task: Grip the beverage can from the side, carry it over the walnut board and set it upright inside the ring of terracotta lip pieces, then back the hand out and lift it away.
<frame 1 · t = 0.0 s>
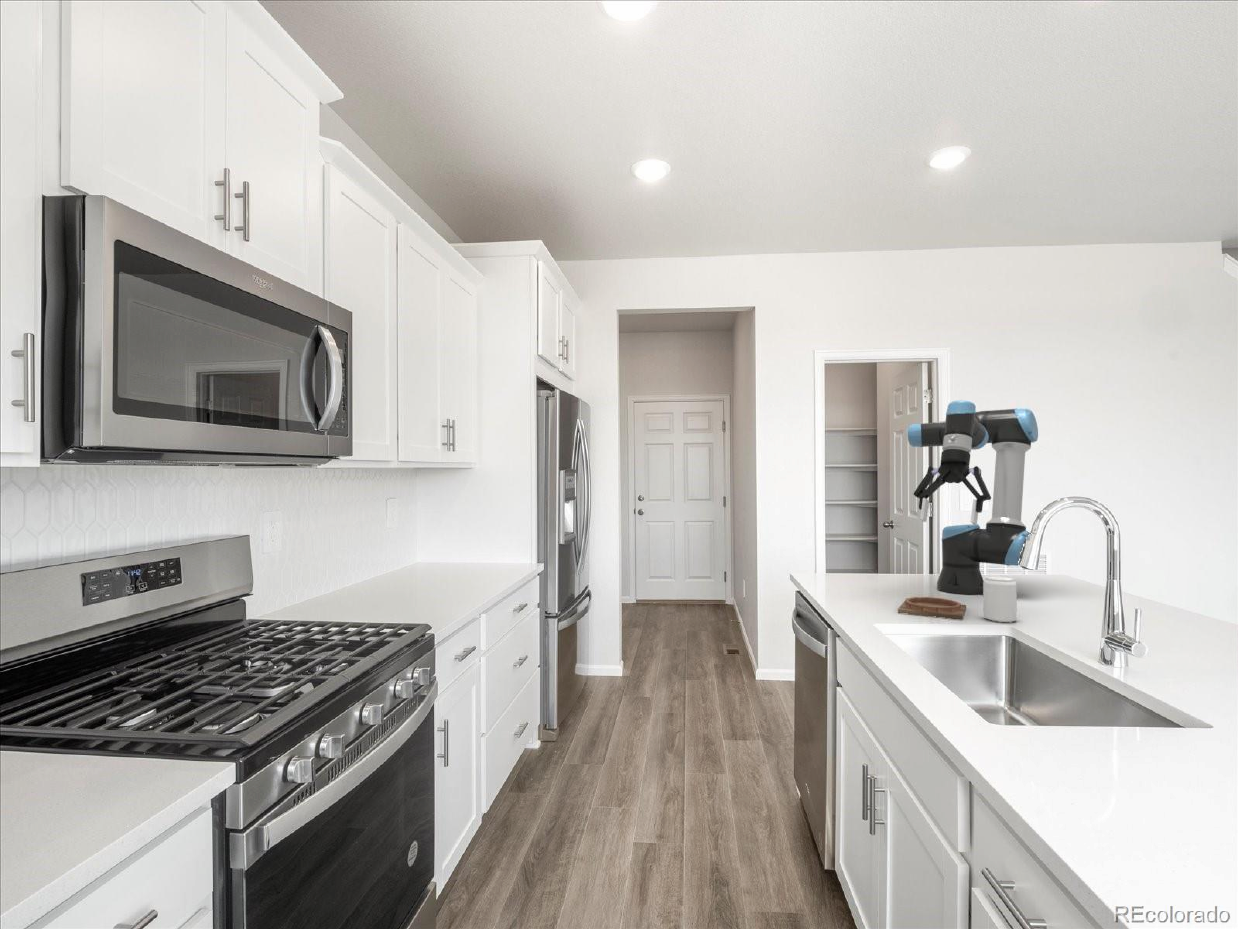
hand: (947, 522, 182), 28 cm above the table, tool tilted 20°, fingers open, 13 cm apart
coaster board: (932, 611, 194), on the table
beverage can: (999, 620, 182), on the table
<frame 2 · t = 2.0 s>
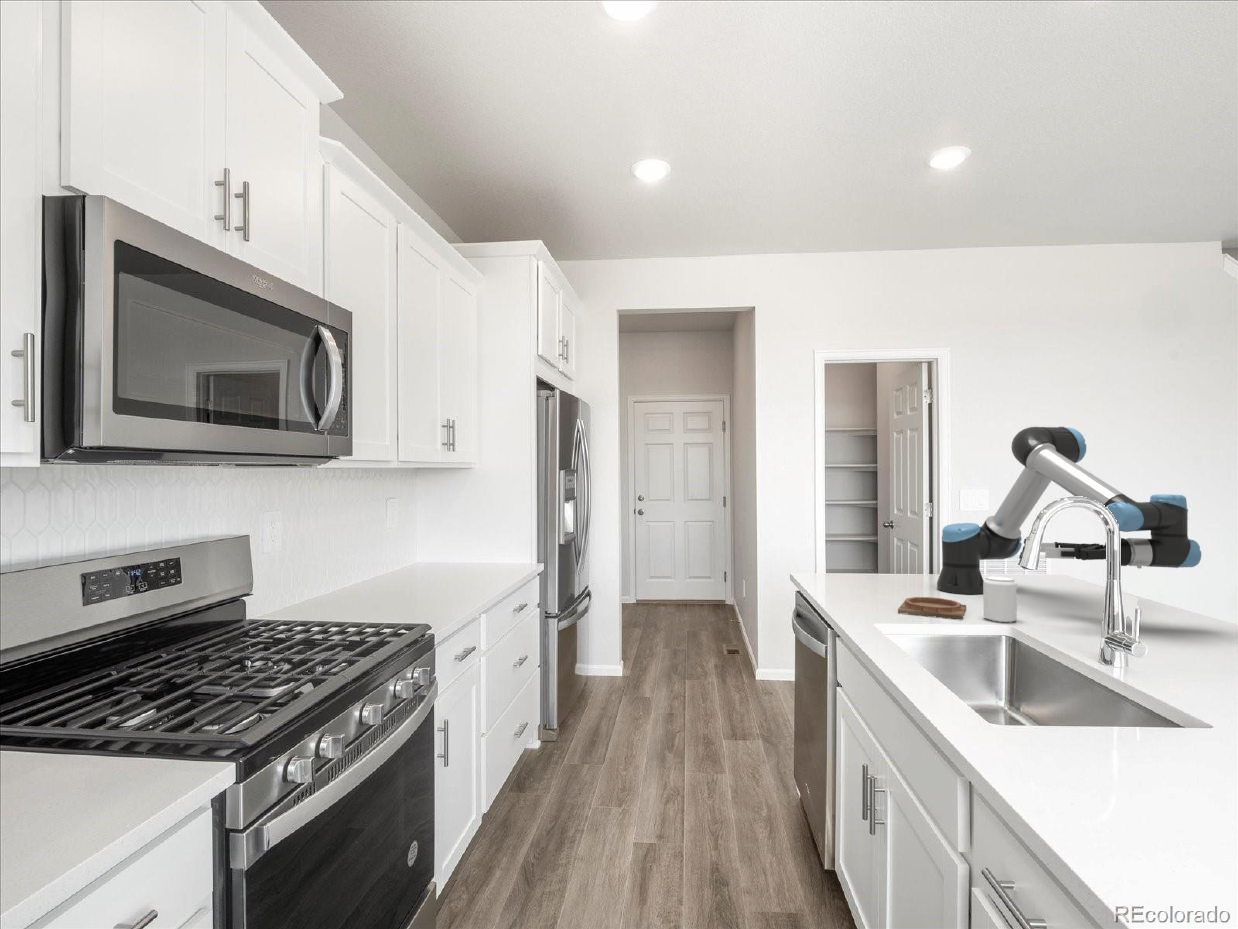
hand: (1036, 549, 179), 20 cm above the table, tool horizontal, fingers open, 13 cm apart
nothing on the table moved.
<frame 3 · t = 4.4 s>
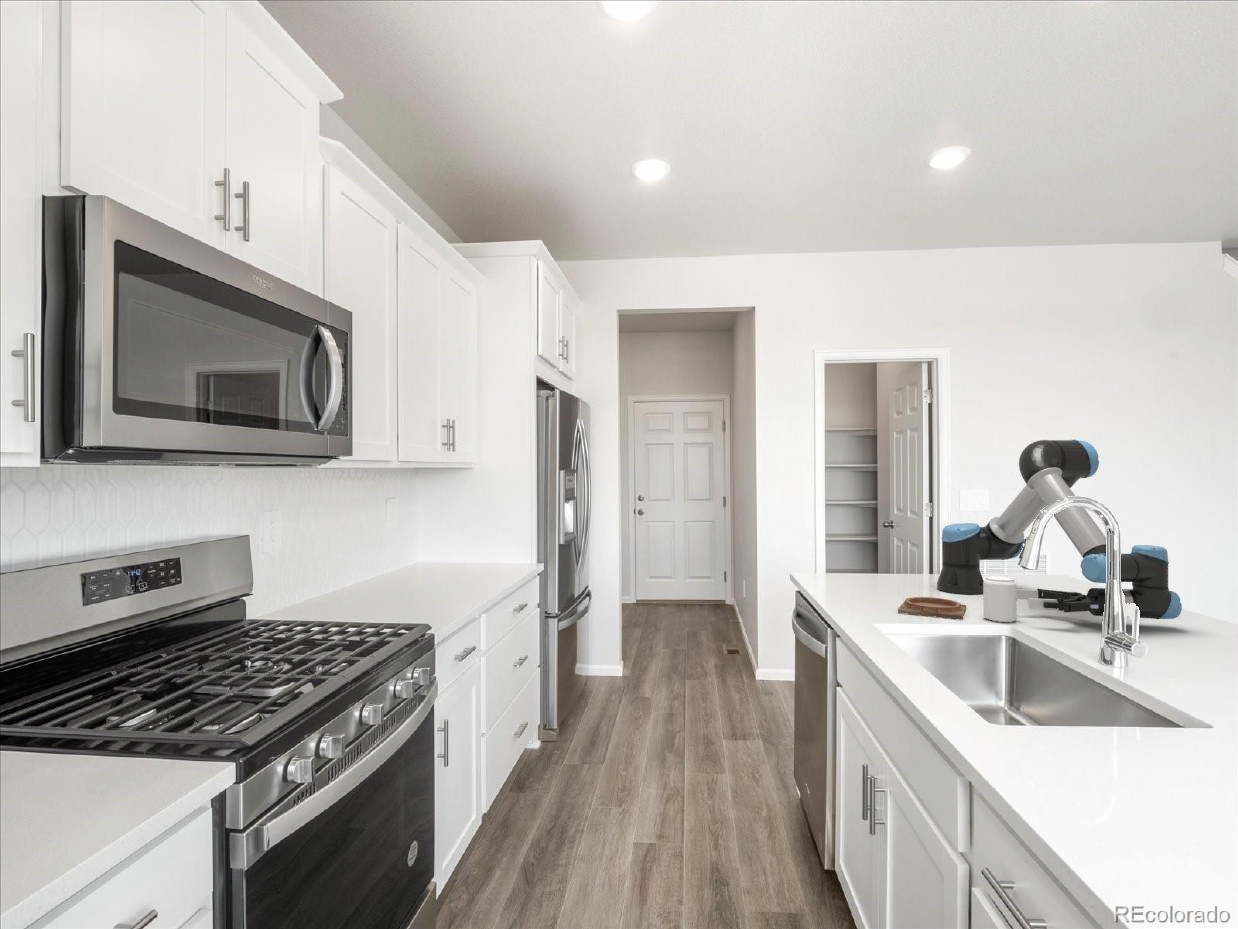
hand: (1020, 598, 180), 6 cm above the table, tool horizontal, fingers open, 13 cm apart
nothing on the table moved.
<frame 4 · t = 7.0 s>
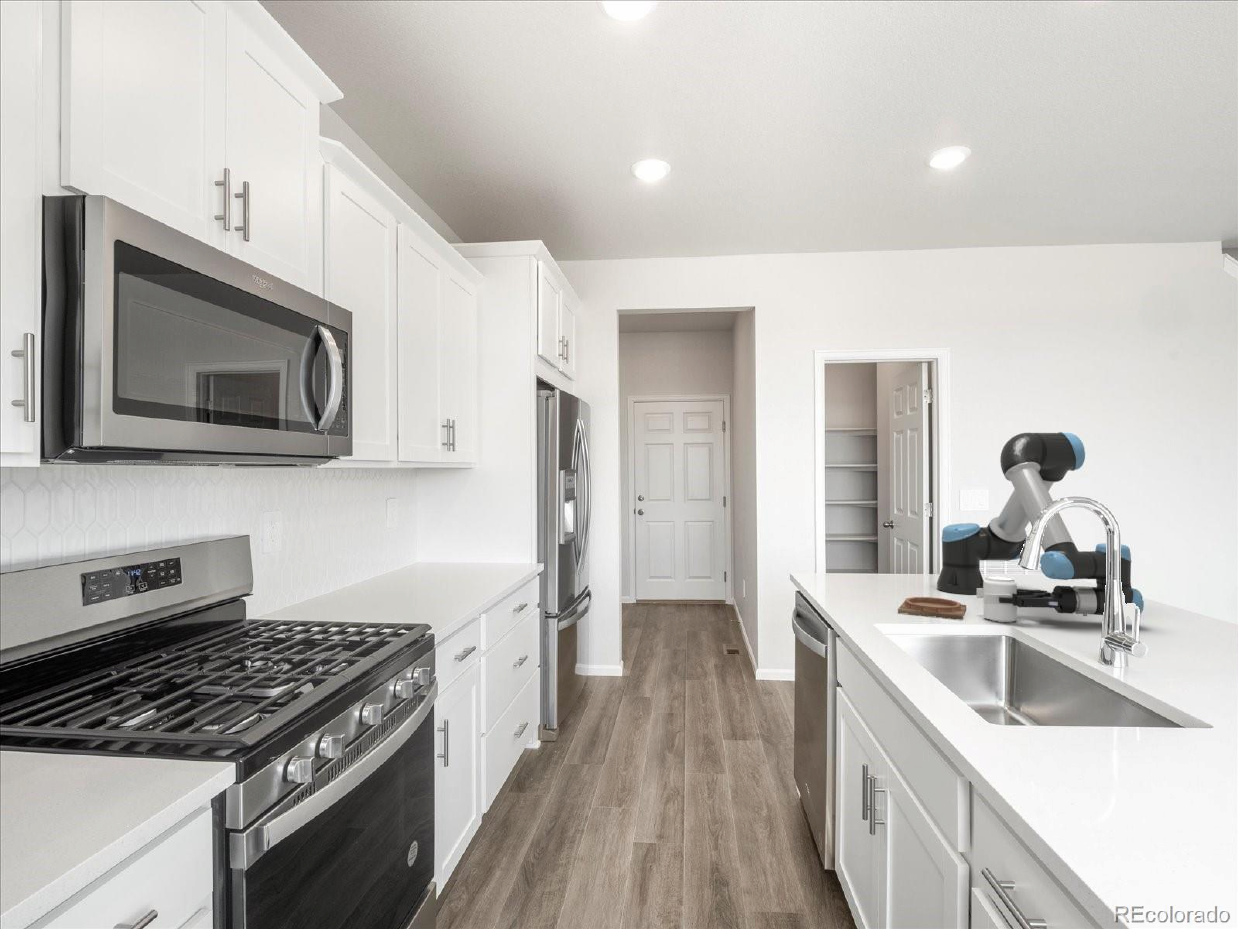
hand: (980, 595, 183), 7 cm above the table, tool horizontal, fingers closed on beverage can, 8 cm apart
beverage can: (1000, 620, 182), on the table, touching gripper
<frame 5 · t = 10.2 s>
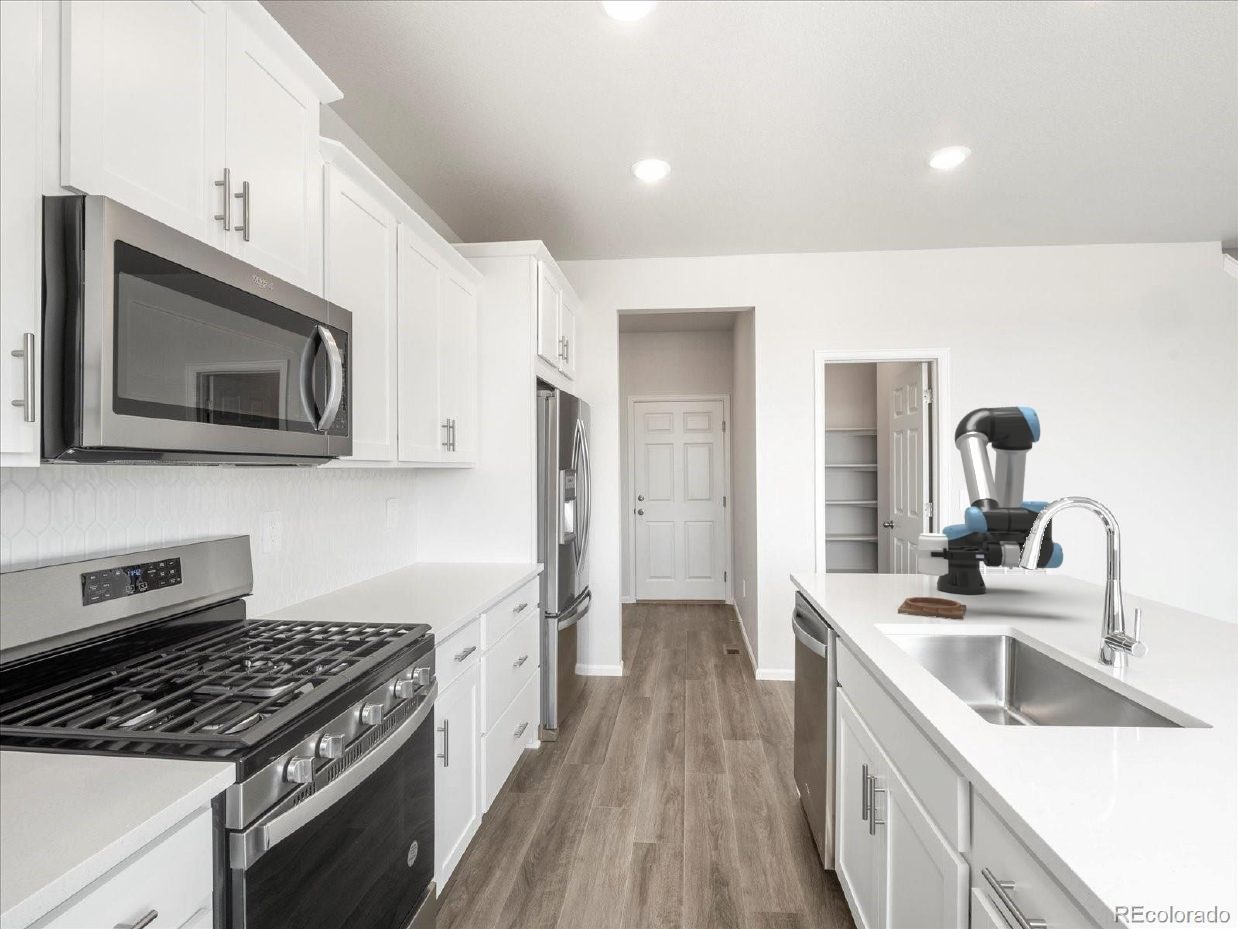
hand: (915, 551, 195), 18 cm above the table, tool horizontal, fingers closed on beverage can, 8 cm apart
beverage can: (933, 574, 193), point 11 cm above the table, touching gripper
when the fingers open (9 cm above the table, at t = 13.3 s): beverage can stays where it is, resting on coaster board.
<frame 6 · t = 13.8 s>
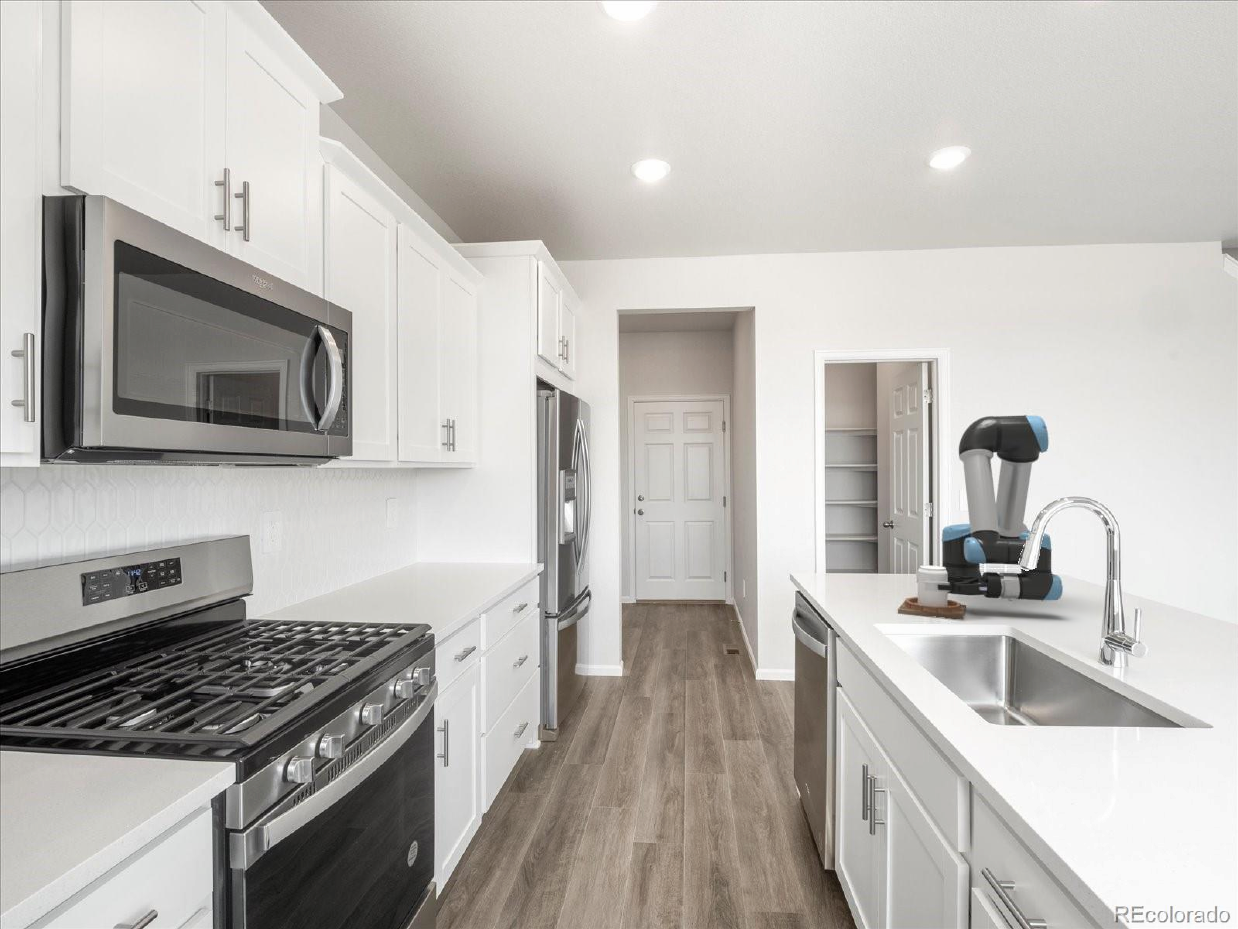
hand: (920, 582, 194), 9 cm above the table, tool horizontal, fingers open, 13 cm apart
beverage can: (932, 607, 194), point 1 cm above the table, touching coaster board
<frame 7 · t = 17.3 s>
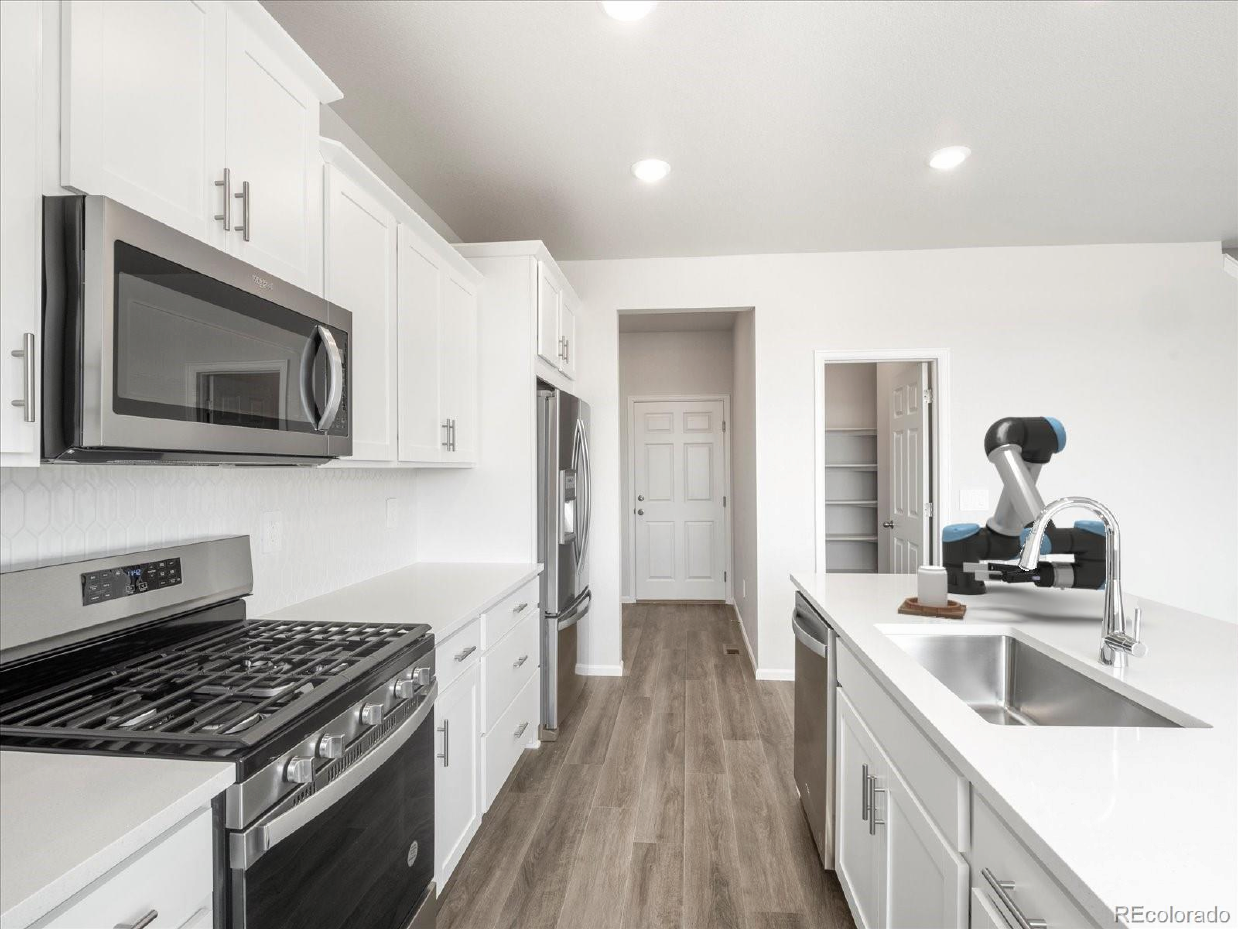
hand: (969, 571, 190), 13 cm above the table, tool horizontal, fingers open, 13 cm apart
nothing on the table moved.
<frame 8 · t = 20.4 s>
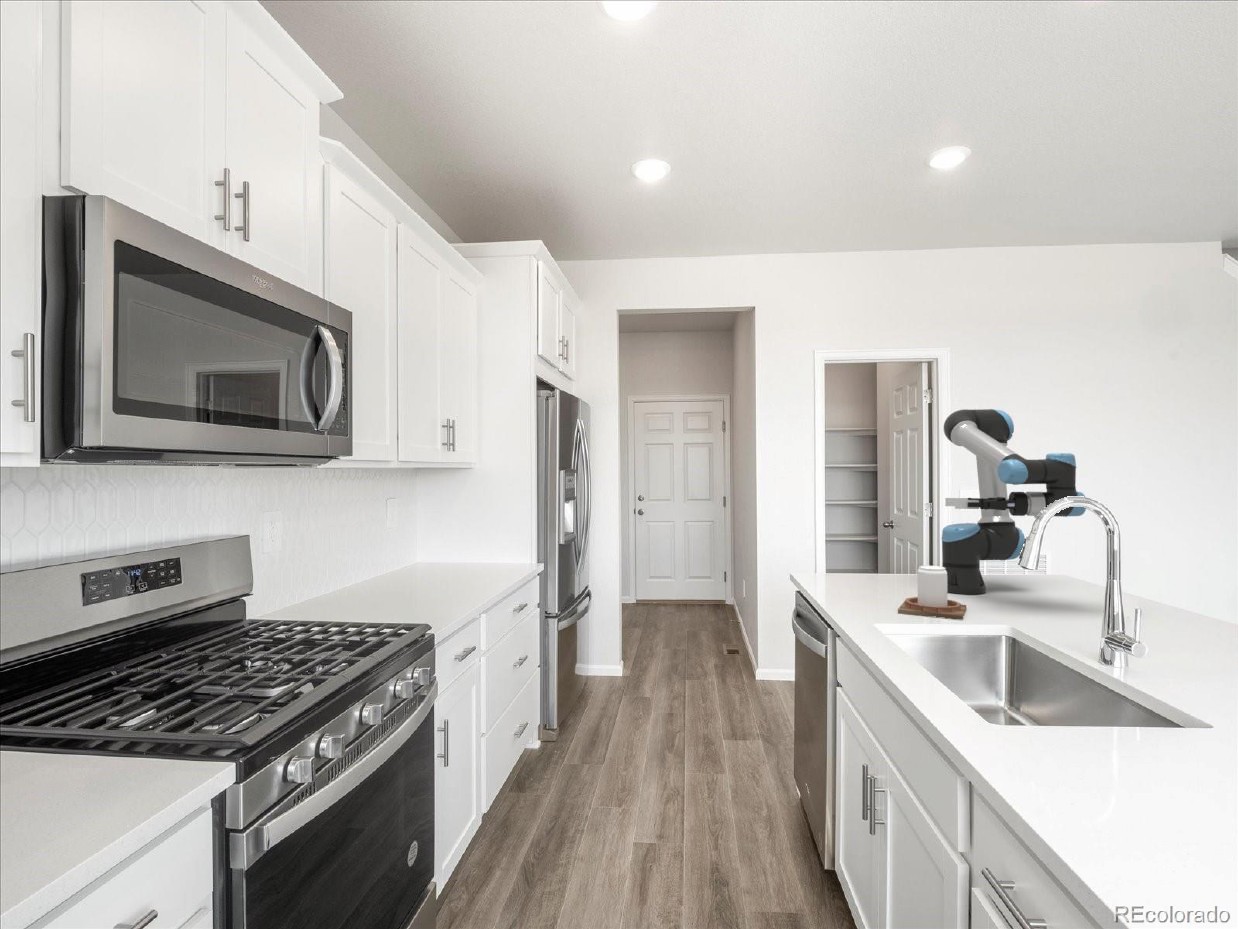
hand: (950, 503, 205), 32 cm above the table, tool horizontal, fingers open, 13 cm apart
nothing on the table moved.
at the end: beverage can 0.0 cm off-centre on the coaster board, point 1.0 cm above the coaster board's base; beverage can tilted 0°; the gripper is holding nothing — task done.
